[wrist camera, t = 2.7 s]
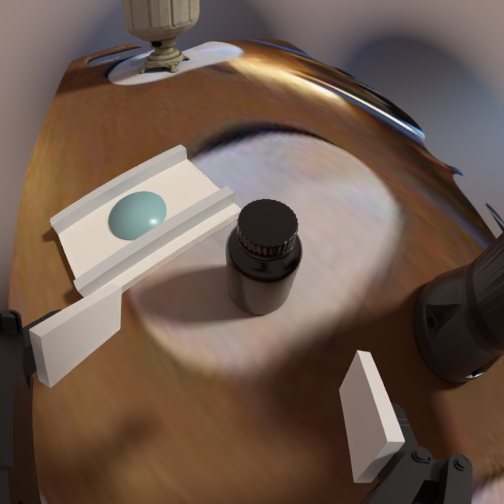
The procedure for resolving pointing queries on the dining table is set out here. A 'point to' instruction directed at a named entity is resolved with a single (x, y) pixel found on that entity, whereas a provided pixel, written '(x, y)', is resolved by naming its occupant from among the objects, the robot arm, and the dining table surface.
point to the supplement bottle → (263, 256)
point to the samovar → (160, 27)
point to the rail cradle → (141, 221)
